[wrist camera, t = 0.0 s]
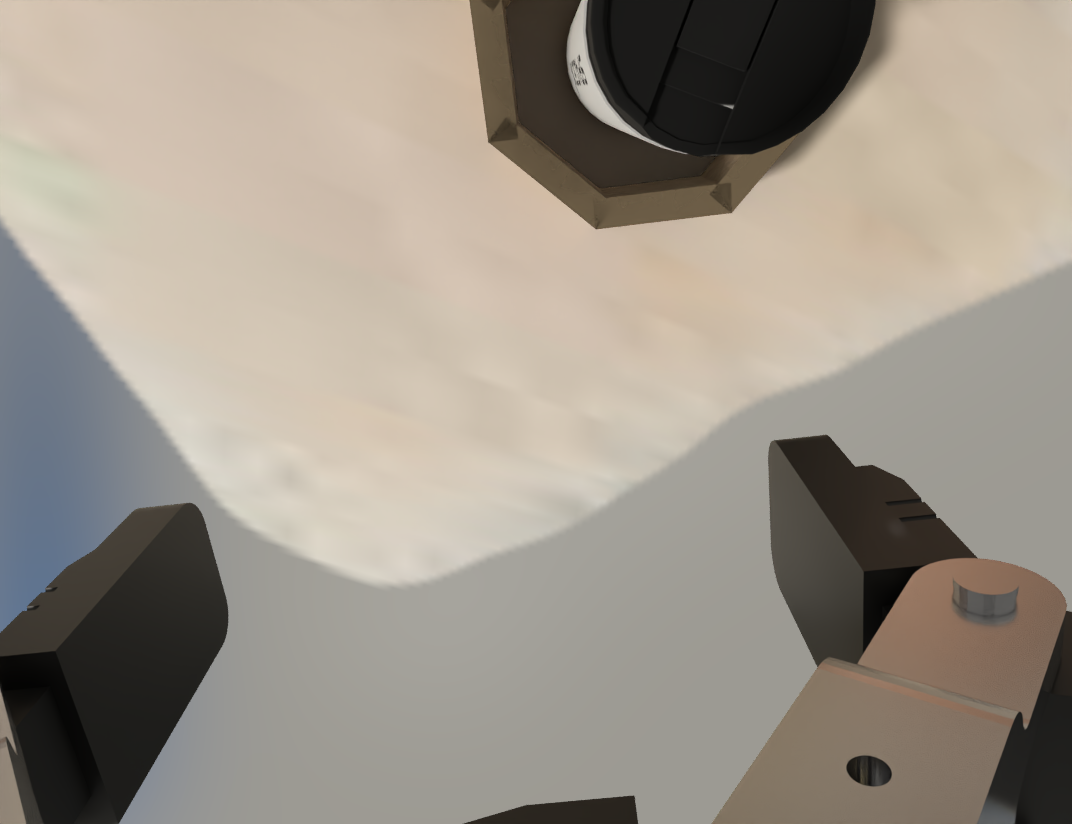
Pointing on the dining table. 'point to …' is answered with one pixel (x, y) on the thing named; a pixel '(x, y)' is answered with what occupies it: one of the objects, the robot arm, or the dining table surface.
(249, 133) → the dining table surface
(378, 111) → the dining table surface
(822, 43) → the travel mug
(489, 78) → the collar ring
